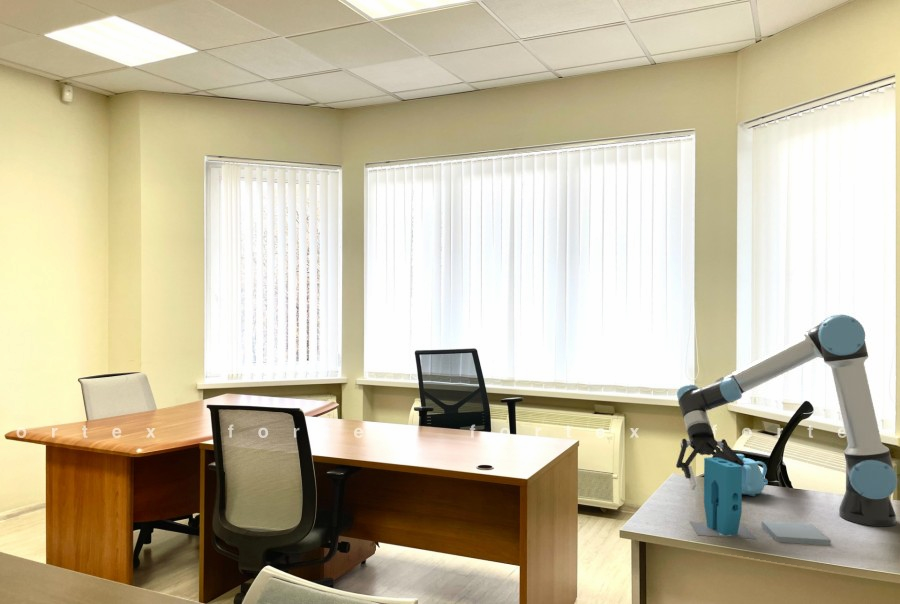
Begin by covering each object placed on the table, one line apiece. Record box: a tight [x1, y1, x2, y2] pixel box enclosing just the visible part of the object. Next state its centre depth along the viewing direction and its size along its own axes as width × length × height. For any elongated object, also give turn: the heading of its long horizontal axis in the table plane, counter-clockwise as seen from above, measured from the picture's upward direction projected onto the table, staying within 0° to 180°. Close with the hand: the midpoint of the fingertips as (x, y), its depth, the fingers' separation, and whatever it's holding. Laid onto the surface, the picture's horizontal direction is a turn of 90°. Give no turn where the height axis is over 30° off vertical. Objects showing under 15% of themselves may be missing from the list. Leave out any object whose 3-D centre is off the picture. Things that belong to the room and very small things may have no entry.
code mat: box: [689, 521, 757, 540], centre depth 195 cm, size 16×12×1 cm
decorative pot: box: [735, 453, 769, 497], centre depth 237 cm, size 16×16×14 cm
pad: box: [761, 520, 832, 546], centre depth 192 cm, size 14×14×2 cm
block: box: [703, 456, 743, 535], centre depth 195 cm, size 12×5×20 cm, turn 13°
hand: (717, 487), depth 198 cm, fingers open, 13 cm apart
